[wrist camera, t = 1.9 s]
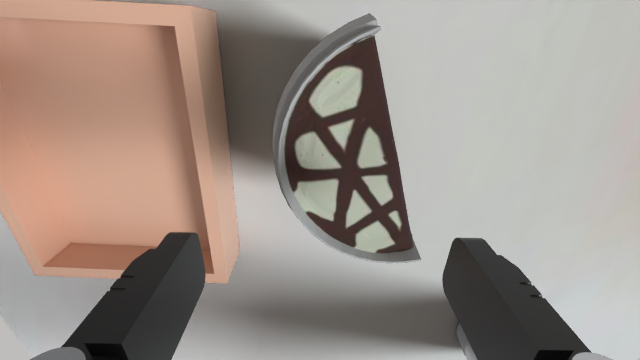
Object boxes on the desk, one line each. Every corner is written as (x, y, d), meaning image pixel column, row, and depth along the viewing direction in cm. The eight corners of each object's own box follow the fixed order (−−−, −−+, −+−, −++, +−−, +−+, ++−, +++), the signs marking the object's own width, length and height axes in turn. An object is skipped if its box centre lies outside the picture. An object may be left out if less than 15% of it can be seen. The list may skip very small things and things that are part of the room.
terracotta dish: (215, 11, 19) (190, 5, 15) (240, 251, 28) (227, 283, 24) (-34, -2, 19) (-120, -11, 15) (72, 244, 28) (35, 275, 24)
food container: (264, 50, 20) (216, 62, 11) (352, 21, 19) (378, 9, 10) (315, 199, 25) (311, 290, 16) (386, 182, 24) (422, 267, 15)
